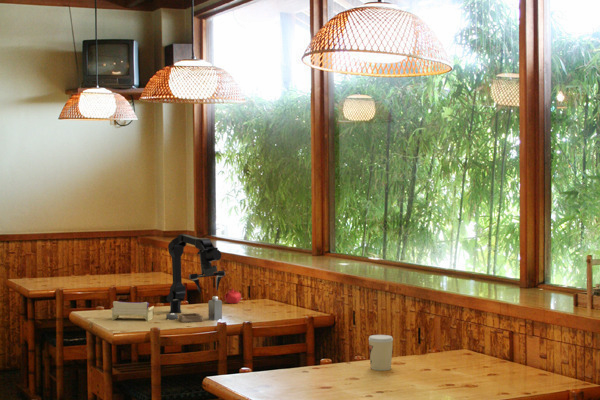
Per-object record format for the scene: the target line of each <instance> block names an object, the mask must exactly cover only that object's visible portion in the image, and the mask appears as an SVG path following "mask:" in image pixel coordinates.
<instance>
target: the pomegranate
mask: <svg viewBox="0 0 600 400" xmlns="http://www.w3.org/2000/svg"><path fill="white" fill-rule="evenodd" d="M241 299H242V294H241V292H239V291H237V289H234V287H231V289H229V290H227V291H226V293H225V295H224V300H225V302H226V303H227V304H230V305H231V304H232V305H233V304H234V305H235V304H239V303H240V302H241Z"/></svg>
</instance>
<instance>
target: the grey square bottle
mask: <svg viewBox="0 0 600 400" xmlns="http://www.w3.org/2000/svg"><path fill="white" fill-rule="evenodd" d="M207 310H208V320H210V321H219V319H221V320H223V301H222V299H219V296H217V295H214V296H212V299H210V300H208V309H207Z"/></svg>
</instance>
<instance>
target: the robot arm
mask: <svg viewBox="0 0 600 400" xmlns="http://www.w3.org/2000/svg"><path fill="white" fill-rule="evenodd" d="M187 244H189V245H192V246H194V248H196V249H198V252H197V253H196V254H197V255H199V262H200V270H201V271H200V272H201V273H198V272H197V273H191V274H189V275H188V279H189V280H190V281H192V282H193V283H195V286H196V287H197V290H198V292H199V293H201V286H200V279H199V278H208V277H215V284H216V286H215V288H216V291H219V285H220V282H221V279H222V278H224V276H226V271H225V270H218V267H217V265H212V262H213V261H214V262H216V261H219V260H221V258H222V253H221V251H220V250H219V249H218V247H216V246H215V245H214V244H213V242H212V241H211V239H210V238H206V237H205V238H203V237H202V238H201V237H200V238H199V237H196V236H193V235H189V234H187V233H181V234H178V236H177V237H175V238H173V239H172V240H171V241H170V242H169V243H168V245H167V248H168V253H169V255H170V257H171V269H172V273H171V274H172V284H171V286H170V288H169V292H168V294H167V296H166V299H165V300H166V302H167V303H169V304H170V306H169V307H170V309H169V314H170V313H174V314H182V306H181V302H184V301H185V298H186V293H187V292H186V288H187V287H186V285H184V284H183V281H182V278H183V277H182V255H183V254H184V250H185V247H186V246H187Z"/></svg>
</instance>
